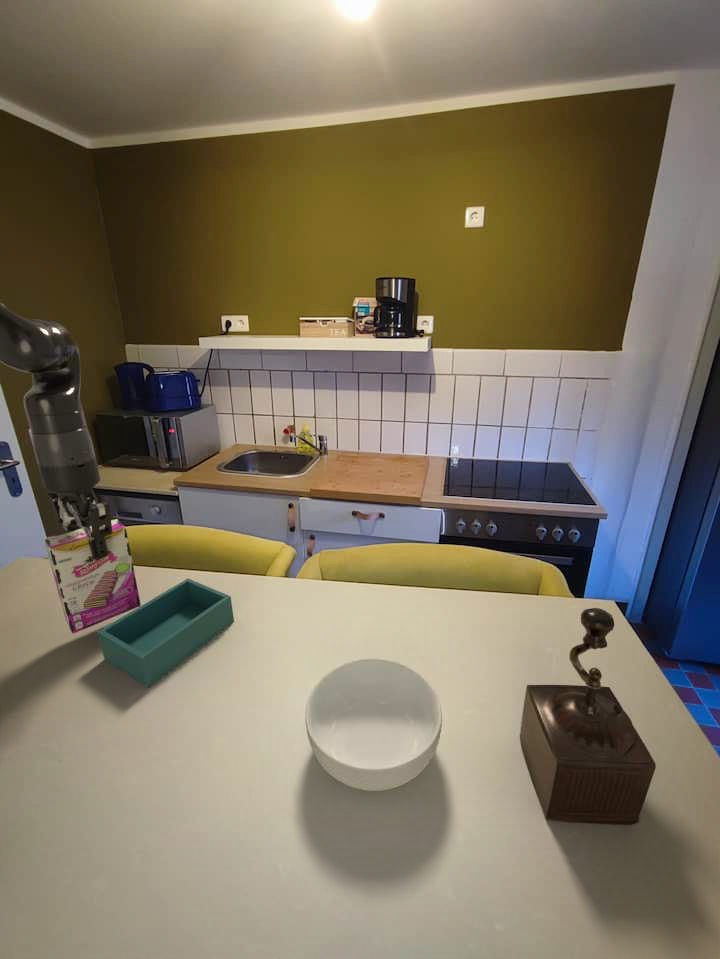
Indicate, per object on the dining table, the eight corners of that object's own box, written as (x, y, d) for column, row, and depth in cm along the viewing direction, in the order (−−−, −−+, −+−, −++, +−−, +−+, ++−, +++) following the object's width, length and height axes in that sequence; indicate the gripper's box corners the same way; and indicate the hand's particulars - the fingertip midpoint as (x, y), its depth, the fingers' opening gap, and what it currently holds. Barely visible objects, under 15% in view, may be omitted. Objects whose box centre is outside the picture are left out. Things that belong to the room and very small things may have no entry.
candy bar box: (72, 636, 71) (47, 549, 65) (65, 622, 74) (41, 538, 69) (143, 606, 78) (126, 526, 73) (133, 594, 82) (117, 517, 76)
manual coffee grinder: (647, 826, 47) (690, 702, 40) (544, 822, 47) (571, 698, 41) (584, 706, 61) (609, 601, 55) (506, 703, 62) (521, 599, 55)
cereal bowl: (417, 686, 65) (419, 649, 62) (459, 799, 49) (464, 756, 47) (304, 703, 62) (301, 664, 60) (312, 828, 47) (309, 784, 44)
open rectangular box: (104, 659, 71) (96, 631, 69) (192, 602, 85) (187, 578, 83) (148, 687, 65) (141, 658, 63) (234, 621, 79) (230, 596, 77)
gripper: (16, 456, 66) (43, 551, 72) (65, 471, 60) (92, 575, 65) (67, 444, 72) (89, 533, 78) (117, 457, 66) (137, 554, 72)
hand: (90, 552), depth 72 cm, fingers closed on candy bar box, 5 cm apart
